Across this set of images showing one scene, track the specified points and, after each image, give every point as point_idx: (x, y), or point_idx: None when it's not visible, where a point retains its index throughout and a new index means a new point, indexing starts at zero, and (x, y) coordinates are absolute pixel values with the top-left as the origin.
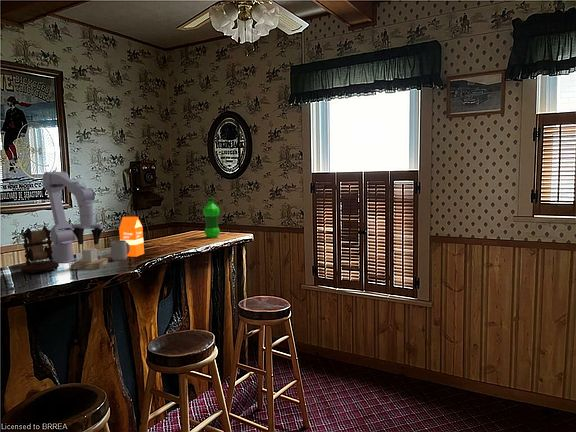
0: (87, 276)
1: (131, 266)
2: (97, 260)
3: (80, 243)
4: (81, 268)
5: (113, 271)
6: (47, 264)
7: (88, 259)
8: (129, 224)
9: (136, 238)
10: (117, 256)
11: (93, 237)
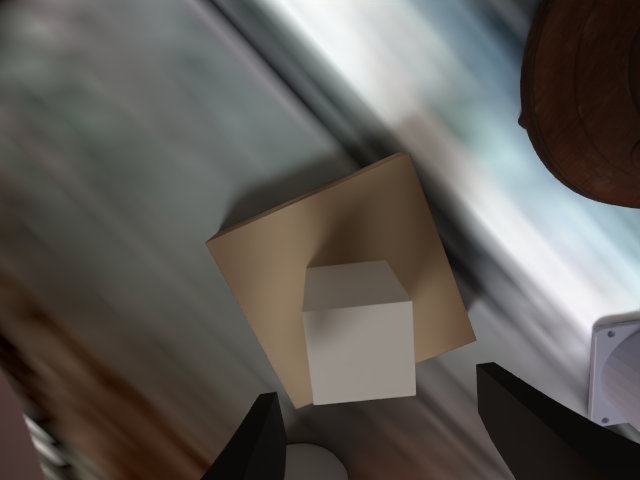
0: (110, 5)
1: (53, 337)
2: None
3: (482, 372)
4: (332, 182)
5: (50, 190)
6: (595, 31)
7: (332, 272)
8: None
9: None
10: None
11: (246, 465)
